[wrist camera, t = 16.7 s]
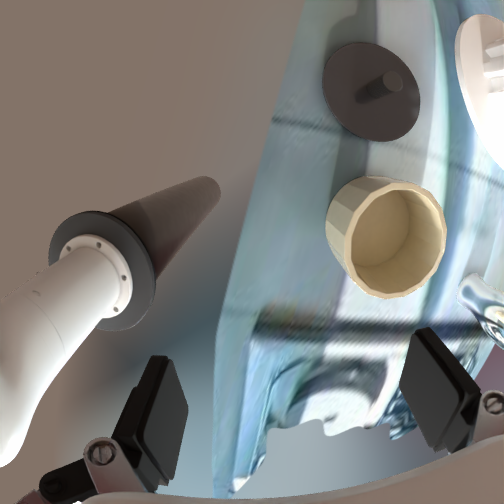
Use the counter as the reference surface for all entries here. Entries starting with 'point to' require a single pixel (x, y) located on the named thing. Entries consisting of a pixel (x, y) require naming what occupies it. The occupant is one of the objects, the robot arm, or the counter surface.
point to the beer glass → (483, 305)
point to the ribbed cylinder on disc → (483, 78)
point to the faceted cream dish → (386, 234)
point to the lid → (371, 92)
